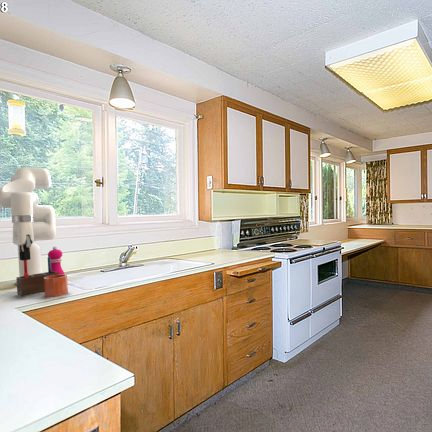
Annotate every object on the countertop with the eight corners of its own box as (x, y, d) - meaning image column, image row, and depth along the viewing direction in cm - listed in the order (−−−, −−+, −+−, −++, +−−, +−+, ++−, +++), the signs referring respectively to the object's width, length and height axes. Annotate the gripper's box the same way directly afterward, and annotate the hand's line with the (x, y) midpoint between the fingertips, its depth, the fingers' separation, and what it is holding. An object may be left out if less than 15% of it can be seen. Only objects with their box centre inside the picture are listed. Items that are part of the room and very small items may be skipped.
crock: (41, 297, 141) (40, 277, 141) (63, 292, 148) (62, 273, 148) (49, 300, 137) (48, 279, 136) (71, 295, 144) (70, 275, 143)
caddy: (17, 296, 143) (16, 277, 143) (54, 288, 155) (53, 271, 155) (22, 298, 140) (20, 278, 140) (59, 290, 152) (58, 272, 152)
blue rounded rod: (48, 289, 152) (46, 256, 151) (50, 288, 153) (49, 256, 152) (50, 289, 150) (48, 257, 150) (53, 289, 151) (51, 256, 151)
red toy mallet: (23, 281, 144) (21, 247, 143) (26, 281, 145) (24, 247, 144) (26, 282, 143) (24, 248, 142) (29, 281, 144) (27, 247, 143)
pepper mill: (68, 283, 166) (66, 245, 165) (57, 287, 158) (55, 247, 157) (56, 283, 166) (54, 245, 165) (44, 286, 159) (42, 247, 158)
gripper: (5, 219, 143) (8, 259, 144) (18, 220, 135) (21, 263, 136) (26, 218, 150) (28, 256, 151) (40, 219, 141) (42, 260, 142)
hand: (25, 259), depth 143 cm, fingers closed on red toy mallet, 1 cm apart
